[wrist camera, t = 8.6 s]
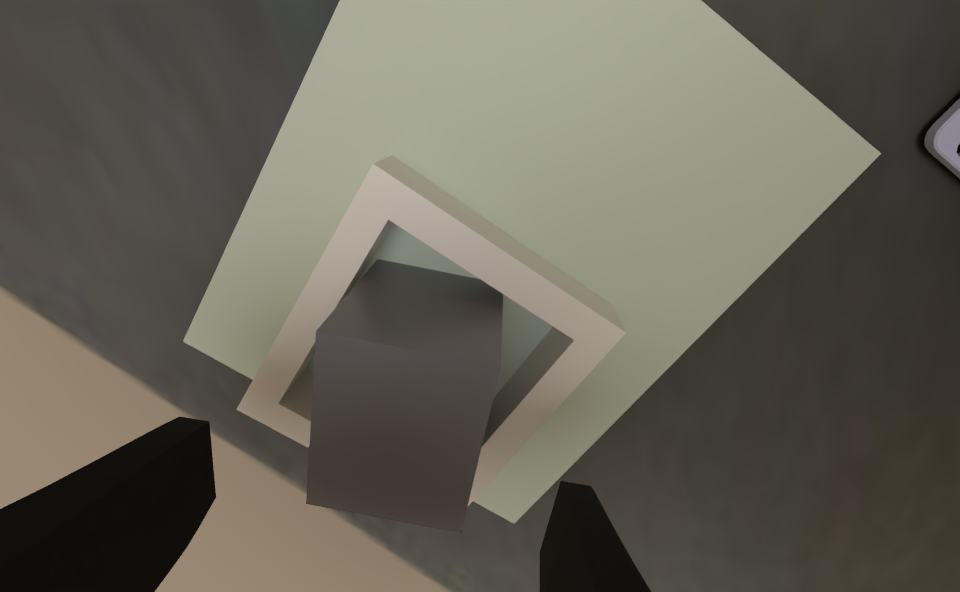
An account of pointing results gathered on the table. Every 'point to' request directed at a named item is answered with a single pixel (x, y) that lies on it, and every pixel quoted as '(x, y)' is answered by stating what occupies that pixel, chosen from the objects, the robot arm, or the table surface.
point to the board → (545, 179)
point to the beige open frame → (481, 251)
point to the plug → (404, 395)
